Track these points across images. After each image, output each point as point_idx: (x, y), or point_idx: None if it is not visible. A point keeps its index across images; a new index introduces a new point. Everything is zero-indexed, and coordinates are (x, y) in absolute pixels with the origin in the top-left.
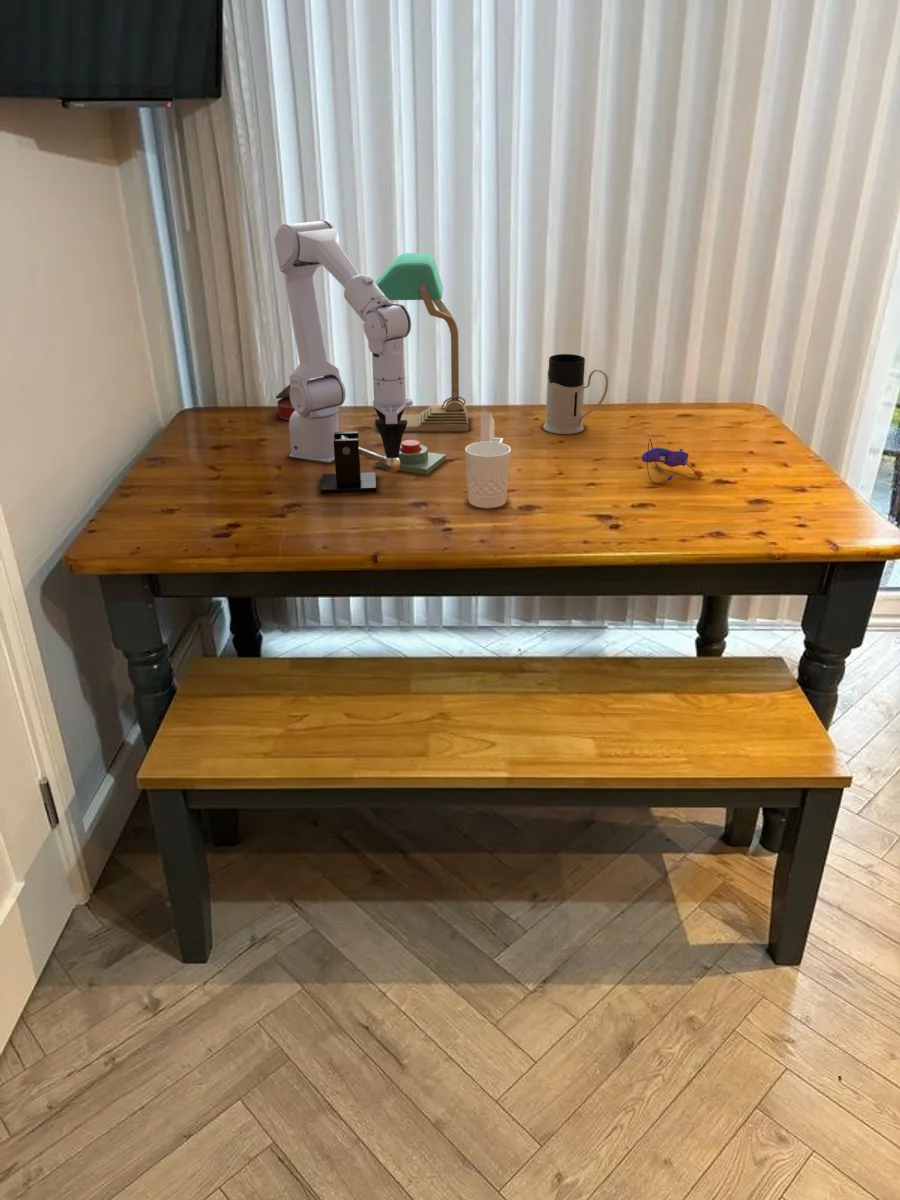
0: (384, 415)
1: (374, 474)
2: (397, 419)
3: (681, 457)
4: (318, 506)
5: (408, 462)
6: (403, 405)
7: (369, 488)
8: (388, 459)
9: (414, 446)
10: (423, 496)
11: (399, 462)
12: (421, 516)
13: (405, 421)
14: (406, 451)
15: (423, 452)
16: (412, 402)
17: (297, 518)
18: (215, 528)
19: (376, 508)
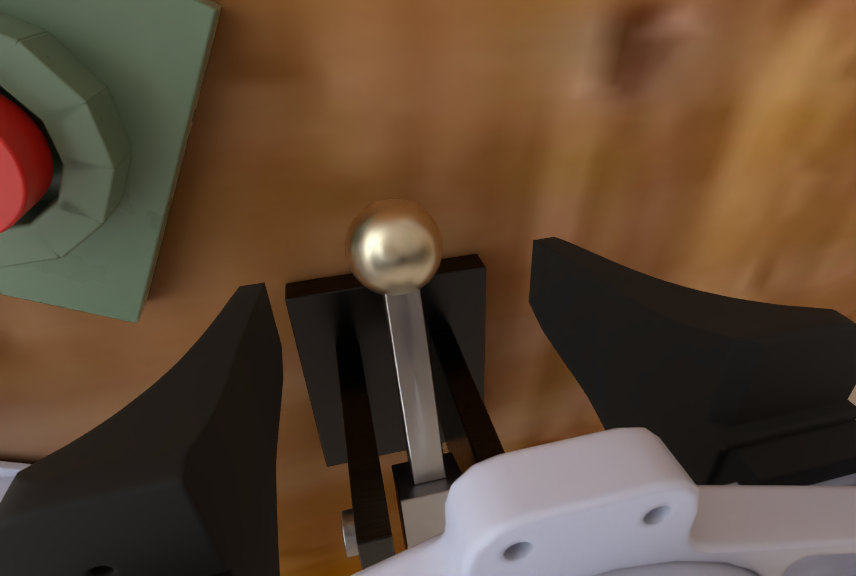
0: (268, 535)
1: (319, 298)
2: (236, 408)
3: None
4: (560, 403)
5: (126, 146)
6: (801, 536)
7: (484, 290)
8: (426, 280)
9: (3, 132)
10: (538, 25)
11: (413, 210)
12: (764, 32)
13: (807, 349)
14: (45, 182)
15: (12, 44)
16: (655, 465)
17: None
18: None
19: (624, 231)
